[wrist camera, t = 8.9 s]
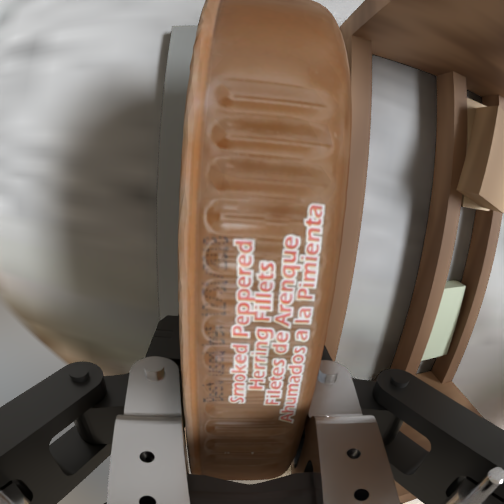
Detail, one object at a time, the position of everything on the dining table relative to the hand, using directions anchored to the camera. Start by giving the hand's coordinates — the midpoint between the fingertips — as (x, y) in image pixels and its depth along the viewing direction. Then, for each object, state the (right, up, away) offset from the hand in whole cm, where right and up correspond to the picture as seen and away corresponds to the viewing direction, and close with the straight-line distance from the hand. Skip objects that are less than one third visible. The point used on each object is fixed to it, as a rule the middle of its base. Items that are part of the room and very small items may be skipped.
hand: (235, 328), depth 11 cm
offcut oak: (+13, +8, +1) cm, 15 cm away
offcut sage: (+12, -1, +6) cm, 14 cm away
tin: (0, +4, +2) cm, 4 cm away
